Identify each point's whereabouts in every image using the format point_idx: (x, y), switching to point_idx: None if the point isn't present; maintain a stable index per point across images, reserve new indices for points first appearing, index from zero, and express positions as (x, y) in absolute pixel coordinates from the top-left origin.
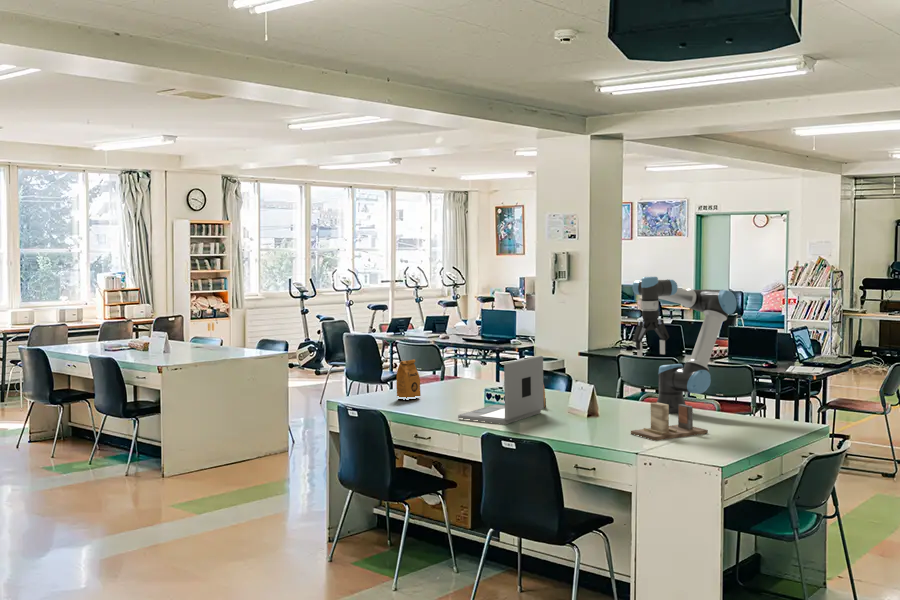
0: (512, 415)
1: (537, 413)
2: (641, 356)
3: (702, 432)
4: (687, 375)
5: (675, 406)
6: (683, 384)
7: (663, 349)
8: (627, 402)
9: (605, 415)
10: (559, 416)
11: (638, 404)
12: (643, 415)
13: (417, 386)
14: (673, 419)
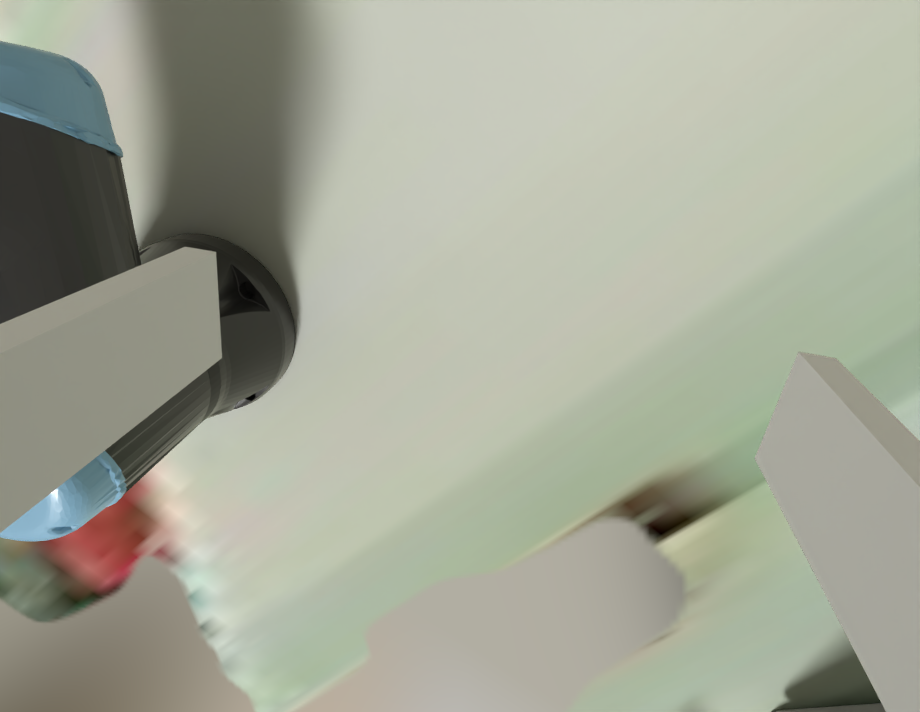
0: None
1: (814, 709)
2: (830, 359)
3: None
4: (19, 169)
5: (219, 263)
6: (115, 194)
7: (154, 290)
8: (246, 586)
9: (598, 472)
10: (799, 611)
11: (237, 528)
12: (438, 333)
13: None
14: (395, 116)
